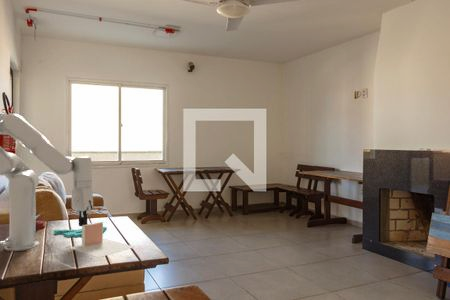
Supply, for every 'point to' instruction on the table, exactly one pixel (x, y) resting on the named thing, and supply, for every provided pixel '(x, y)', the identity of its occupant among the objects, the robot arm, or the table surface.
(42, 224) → the canned food
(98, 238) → the tile
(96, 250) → the mat
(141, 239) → the table surface
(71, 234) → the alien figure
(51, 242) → the table surface
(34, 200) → the robot arm
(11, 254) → the table surface
